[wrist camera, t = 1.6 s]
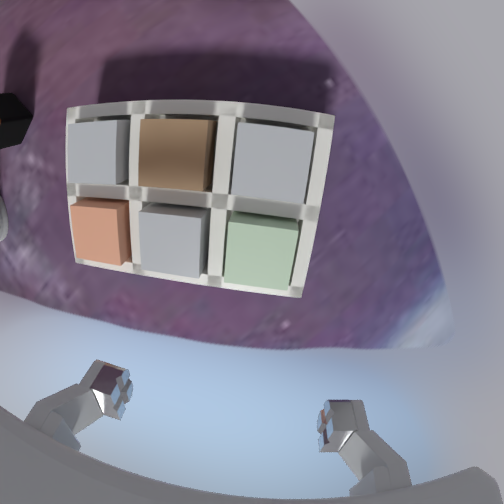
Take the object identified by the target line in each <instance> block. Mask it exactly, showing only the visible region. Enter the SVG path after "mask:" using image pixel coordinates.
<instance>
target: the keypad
mask: <svg viewBox="0 0 504 504" xmlns="http://www.w3.org/2000/svg"><path fill="white" fill-rule="evenodd" d="M141 119H196V120H213V121H217V126H216V137H215V148H214V159H213V171H212V183H211V184H210V185H209V186H208V187H207V188H206V189H205V190H204V191H193V190H182V189H171V188H158V187H144V186H138V162H139V136H140V120H141ZM334 120H335V116H334V115H329V114H324V113H319V112H313V111H307V110H301V109H295V108H288V107H280V106H273V105H264V104H254V103H244V102H231V101H213V100H142V101H125V102H113V103H103V104H94V105H85V106H78V107H71V108H67V119H66V179H67V195H68V208H69V218H70V226H71V234H72V242H73V248H74V255H75V261H76V263H80V264H85V265H90V266H95V267H101V268H106V269H111V270H117V271H122V272H127V273H133V274H139V275H144V276H150V277H156V278H162V279H168V280H174V281H180V282H187V283H193V284H200V285H206V286H213V287H220V288H227V289H234V290H241V291H249V292H256V293H264V294H272V295H280V296H288V297H296V298H301V296H302V292H303V288H304V283H305V279H306V275H307V270H308V266H309V261H310V256H311V252H312V247H313V242H314V237H315V232H316V227H317V222H318V217H319V212H320V206H321V201H322V195H323V190H324V184H325V178H326V172H327V166H328V160H329V154H330V147H331V141H332V134H333V127H334ZM86 197H97V198H111V199H123V200H129V213H130V234H131V249H132V255H131V256H130V257H129V258H128V259H127V260H126V261H125V262H124V263H123V264H122V265H121V266H118V265H113V264H107V263H102V262H96V261H91V260H85V259H80V258H77V257H76V251H75V244H74V237H73V230H72V221H71V211H70V205H72V204H74V203H76V202H78V201H80V200H82V199H84V198H86ZM233 211H241V212H249V213H257V214H265V215H272V216H280V217H287V218H294V219H296V220H297V225H298V230H299V232H298V238H297V243H296V249H295V254H294V259H293V265H292V270H291V275H290V280H289V285H288V290H287V291H286V290H278V289H270V288H262V287H254V286H247V285H240V284H232V283H225V282H224V273H225V259H226V246H227V234H228V222H229V220H230V218H231V216H232V213H233Z"/></svg>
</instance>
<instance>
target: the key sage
mask: <svg viewBox="0 0 504 504" xmlns="http://www.w3.org/2000/svg"><path fill="white" fill-rule="evenodd" d="M298 232H299V230H298V225H297V220H296V219H294V218H287V217H280V216H272V215H265V214H257V213H249V212H241V211H233V213H232V216H231V218H230V220H229V222H228V234H227V246H226V259H225V273H224V282H225V283H232V284H240V285H247V286H254V287H262V288H270V289H278V290H286V291H287V290H288V285H289V280H290V275H291V270H292V265H293V259H294V254H295V249H296V243H297V238H298Z"/></svg>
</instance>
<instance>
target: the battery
mask: <svg viewBox="0 0 504 504" xmlns="http://www.w3.org/2000/svg"><path fill="white" fill-rule="evenodd" d="M32 118H33V117H32V115H31V114H30V112H29V111H28V110H27V109H26V108H25V107H24V106H23V104H22V103H21V102H20V101H19V100H18V99H17V98H16V96H15V95H14V94H13V93H2V94H0V149H2V148H6V147H10V146H14V145H18V144H21V143H22V141H23V138H24V136H25V134H26V131H27V129H28V127H29V125H30V122H31V120H32Z"/></svg>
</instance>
